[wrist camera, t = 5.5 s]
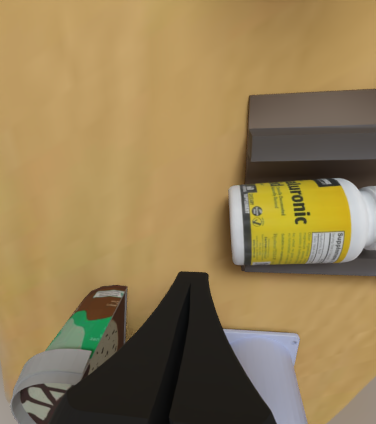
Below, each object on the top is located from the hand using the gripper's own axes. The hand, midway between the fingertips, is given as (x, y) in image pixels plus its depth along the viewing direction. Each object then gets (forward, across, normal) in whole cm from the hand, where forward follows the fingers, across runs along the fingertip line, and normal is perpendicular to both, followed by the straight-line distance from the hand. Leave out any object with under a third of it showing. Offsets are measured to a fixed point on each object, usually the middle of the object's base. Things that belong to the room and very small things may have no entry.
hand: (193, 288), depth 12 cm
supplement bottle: (+6, -2, 0) cm, 6 cm away
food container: (+10, +12, +13) cm, 20 cm away
